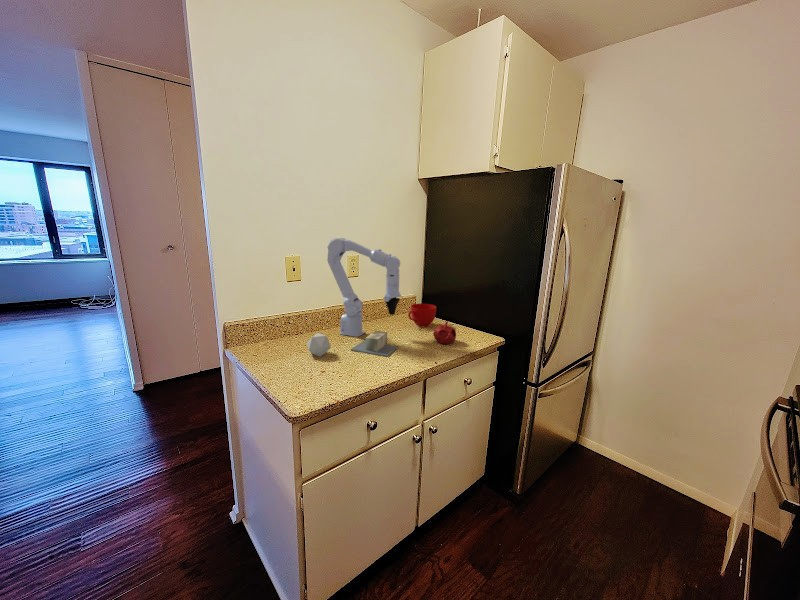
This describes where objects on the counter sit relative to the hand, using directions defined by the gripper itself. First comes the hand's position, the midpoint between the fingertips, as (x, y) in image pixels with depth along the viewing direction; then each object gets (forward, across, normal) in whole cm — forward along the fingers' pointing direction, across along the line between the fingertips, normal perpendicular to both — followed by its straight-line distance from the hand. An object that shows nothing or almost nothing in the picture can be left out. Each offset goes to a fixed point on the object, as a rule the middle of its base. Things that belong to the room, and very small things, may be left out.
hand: (391, 314), depth 146 cm
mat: (+10, -18, 0) cm, 21 cm away
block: (+7, -11, 0) cm, 14 cm away
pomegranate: (+11, +3, -24) cm, 26 cm away
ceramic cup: (+11, +22, -7) cm, 25 cm away
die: (+11, -32, +17) cm, 38 cm away
